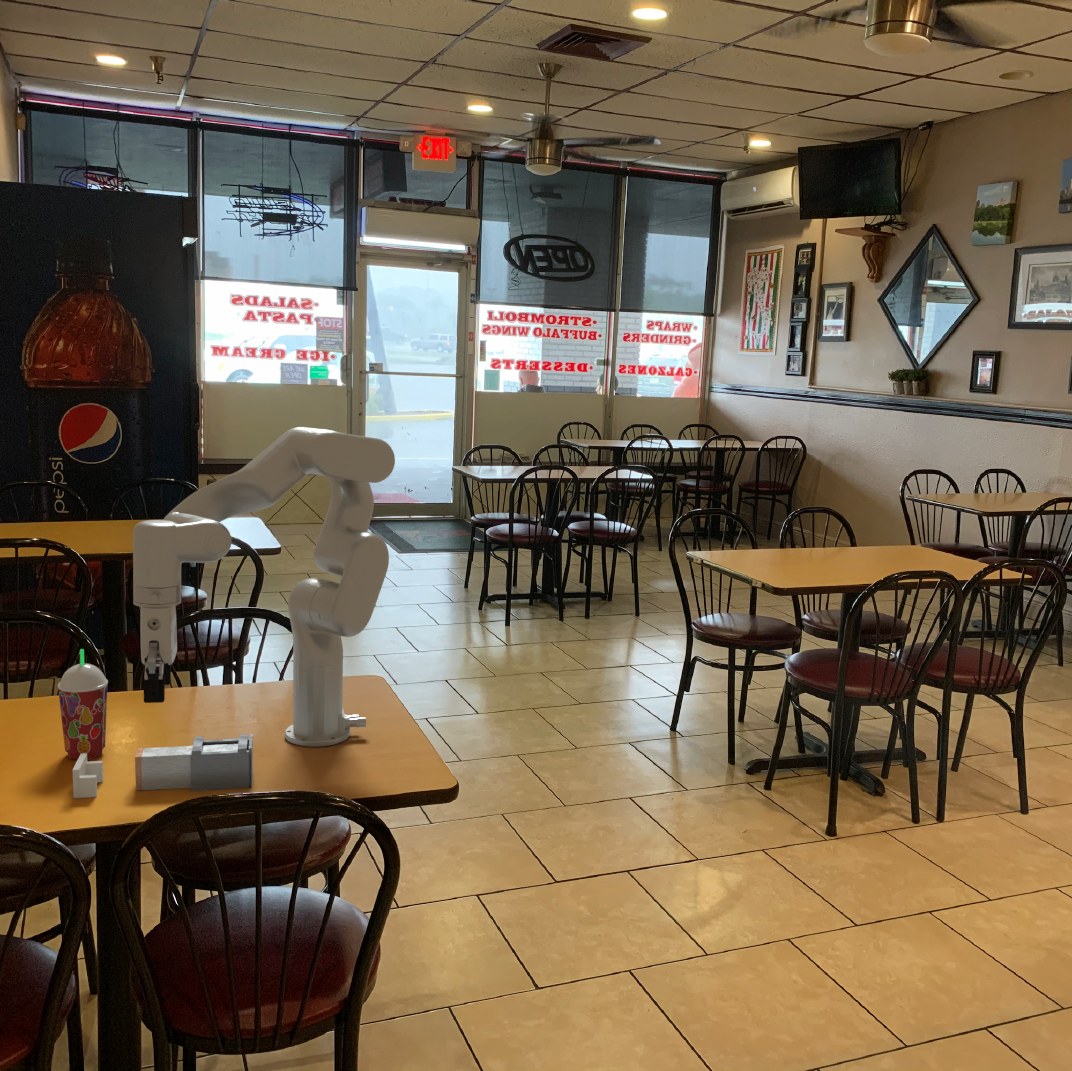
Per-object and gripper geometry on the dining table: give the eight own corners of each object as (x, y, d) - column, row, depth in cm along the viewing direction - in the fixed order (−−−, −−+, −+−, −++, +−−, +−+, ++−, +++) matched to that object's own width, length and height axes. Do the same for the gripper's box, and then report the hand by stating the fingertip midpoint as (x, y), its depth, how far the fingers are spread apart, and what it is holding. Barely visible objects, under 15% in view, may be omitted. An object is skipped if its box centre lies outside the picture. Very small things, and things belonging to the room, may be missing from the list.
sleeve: (252, 772, 183) (252, 733, 182) (251, 787, 177) (251, 747, 175) (194, 775, 181) (193, 736, 180) (190, 791, 174) (190, 750, 173)
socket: (103, 779, 177) (102, 752, 176) (96, 796, 170) (95, 768, 170) (81, 780, 176) (80, 753, 176) (73, 798, 170) (72, 769, 169)
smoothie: (116, 746, 192) (114, 644, 189) (99, 763, 184) (96, 656, 181) (71, 745, 192) (68, 642, 189) (52, 762, 184) (48, 655, 180)
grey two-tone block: (243, 775, 181) (243, 743, 180) (242, 784, 178) (242, 751, 177) (138, 781, 177) (138, 748, 176) (135, 790, 173) (134, 757, 172)
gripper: (176, 606, 163) (175, 708, 166) (185, 584, 180) (185, 677, 182) (126, 606, 161) (126, 710, 164) (140, 583, 178) (140, 678, 180)
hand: (157, 693), depth 173 cm, fingers open, 9 cm apart
